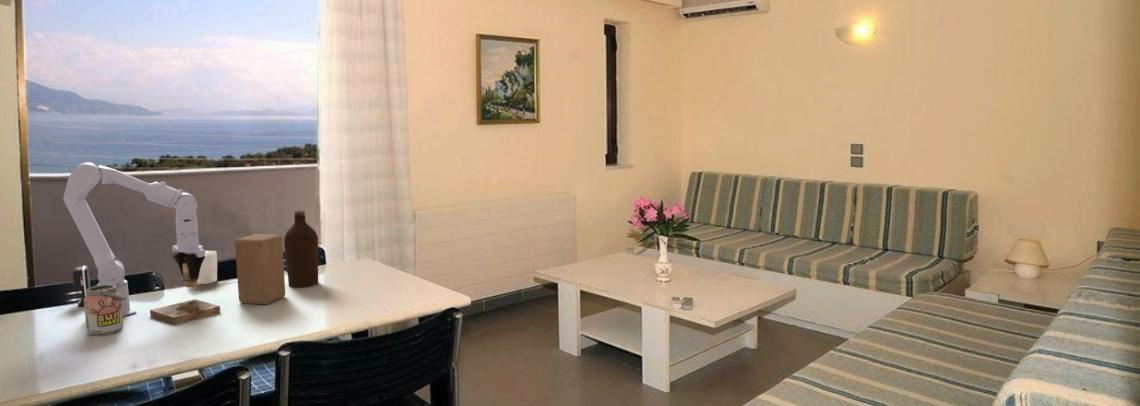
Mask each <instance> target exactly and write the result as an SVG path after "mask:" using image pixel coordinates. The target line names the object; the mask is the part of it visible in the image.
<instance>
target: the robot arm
mask: <svg viewBox="0 0 1140 406" xmlns="http://www.w3.org/2000/svg"><path fill="white" fill-rule="evenodd" d="M100 181H101V185H107V184H108V185H109V184H116V185H119V186H122V187H124V188H128V189H130V190H133V191H135V192H136V191H137V192H139V193H142V194H144V197H145V198H146V200H147V201H151V202H153V203H156V204H158V205H160V206H161V205H162V206H164V207H166V208H169V209H172V208H174V209H175V231H176V232H175V233H176V244H174V245H172V246H171V247H172V252H174V253H176V254H173V255H172V258H173V259H174V260H175V262H176V263H177V266H178V268H179V272H180V273H181V275H182V277H183V263H186V264H187V267H188V271H189V276H190V279H196V278H198V277H199V273H200V268H201V265H202V262H203V260H204V259H205V251H206V250H205V249H203V248H204V246H203V245H200V241H199V225H198V224H199V223H198V217H197V211H196V210H197V208H198V206H199V205H198V203H197V200H196V197H194V196H193V195H192V194H191V193H189V192H188V191H184V190H183V189H181V188H179V189H176V188H174V187H172V186H169V185H167V183H166V182H164V181H160V182H158V181H154V182H151V183H148V182H146V181H143V180H141V179H138V178H137V177H134V176H131V175H130V174H127V173H125V172H122V171H120V170H117V169H114V168H112V167H108V166H105V165H101V164H100V165H97V164H96V163H94V162H90V161H84V162H80V163H79V164H78V165H76V166H75V167H74V169H73V170H72V171H71V173H70V175H69V176H68V179H67V182H66V186H65V189H64V190H65V191H64V195H63V197H62V198H63V199H62V200H63V202H64V204H65V206H66V208H67V210H68V212H69V213H70V215H71V218H72V219H73V221H74V223H75V225H76V227H77V229H78V231H79V234H80V235H81V237H82V238H83V241H84V242H85V245H86V246H87V248H88V250H89V253H90V255H91V256H92V259H93V261H94V265H95V267H96V268H97V280H98V281H99V282H98V283H97V284H96V286H100V285H115V286H116V287H117V290H116V291H117V292H118V293H119V294H121V295H123V296H125V297H126V299H125V300H121V304H122V314H123V317H124V316H129V315H134V314H136V313H137V312H138V311H136V310H134V309H131V307H130V295H129V287H128V286H129V285H128V280H126V279H125V276H126V274H125V266H124V263H123V262H122V261H121V260H118V258H117V257H116V256H115V254H114V252H113V251H112V249H111V248H110V246H109V243H108V242H107V240H106V238H105V237H106V236H104V233H103V231H102V229H101V227H100V225H99V224H98V222H97V220H96V217H95V215H94V214H93V212H92V210H91V208H90V205H89V204H88V201H87V200H86V199H87V197H88V195H89V193H90V191H91V190H92V189H93V188H94V187H95V186H96V185H97V184H98V183H99V182H100Z"/></svg>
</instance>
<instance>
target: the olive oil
mask: <svg viewBox="0 0 1140 406" xmlns="http://www.w3.org/2000/svg"><path fill="white" fill-rule="evenodd" d="M305 213H306V211H305V210H301V209H300V210H294V215H293V216H294V222H293V224H292V225H291V226H290V228H289V229H288V230H287V231H286V232H285V233H284V234H285V235H284V239H283V245H284V253H285V263H286V264H285V265H286V269H285V273H286V274H287V280H288V287H290V288H308V287H313V286H316V285H318V284H319V237H318V233H317V232H316V230H315V229H314V228H313V227H312V226H311V225H310V224H308V223H307V222H306V214H305Z"/></svg>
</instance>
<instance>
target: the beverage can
mask: <svg viewBox="0 0 1140 406" xmlns="http://www.w3.org/2000/svg"><path fill="white" fill-rule="evenodd" d="M116 290H117V287H116V286H115V285H100V286H97V285H93V286H90V288H88V289H87V290H86V293H87V295H86V297H85V298H84V315H85V325H86V332H87V333H88V334H89V335H90V336H94V337H97V336H98V337H99V336H102V337H103V336H108V335H113V334H116V333H119V332H120V331H121V330H122V329H123V328H124V316H123V314H122V304H121V300H125V299H126V297H125V296H123V295H121V294H119V293H118V292H117V291H116Z"/></svg>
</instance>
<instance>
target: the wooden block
mask: <svg viewBox="0 0 1140 406" xmlns="http://www.w3.org/2000/svg"><path fill="white" fill-rule="evenodd" d="M234 246H235V247H234V248H235V261H236V262H235V263H236V277H237V279H236V280H237V289H238V293H237V294H238V301H239V303H240V304H251V305H253V304H254V305H269V304H270V303H273V302H275V301H277V300H280V299H283V298H285V296H286V283H285V267H284V266H285V265H284V250H283V249H284V248H283V236H282V235H280V234H271V233H270V234H267V233H266V234H265V233H254V234H250V235H247V236H242V237H239V238H237V239H235V241H234Z"/></svg>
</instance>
